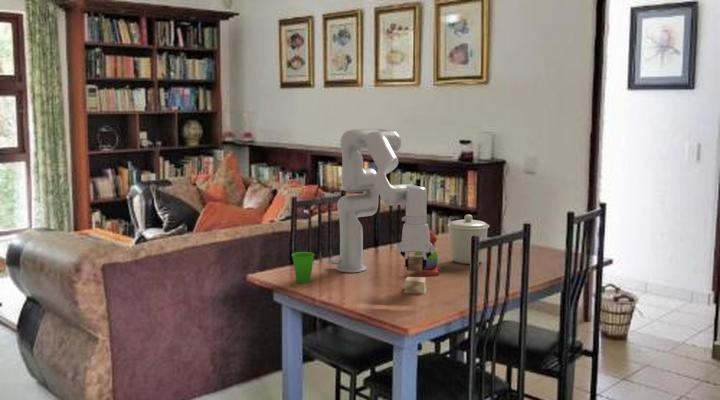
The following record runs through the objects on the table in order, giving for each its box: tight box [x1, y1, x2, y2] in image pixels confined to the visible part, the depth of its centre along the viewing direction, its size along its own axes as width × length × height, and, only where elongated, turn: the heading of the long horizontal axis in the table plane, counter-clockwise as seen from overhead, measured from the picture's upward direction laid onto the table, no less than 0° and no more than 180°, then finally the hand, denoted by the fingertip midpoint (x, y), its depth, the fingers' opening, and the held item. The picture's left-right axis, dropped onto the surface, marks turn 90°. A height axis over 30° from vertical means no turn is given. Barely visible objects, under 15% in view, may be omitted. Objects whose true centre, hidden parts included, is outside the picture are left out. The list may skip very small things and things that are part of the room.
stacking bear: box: [415, 229, 441, 277], centre depth 291 cm, size 11×10×18 cm
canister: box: [447, 214, 490, 265], centre depth 309 cm, size 18×18×21 cm
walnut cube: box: [407, 254, 423, 273], centre depth 258 cm, size 5×5×5 cm
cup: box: [291, 251, 316, 284], centre depth 277 cm, size 9×9×11 cm
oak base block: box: [404, 276, 427, 294], centre depth 260 cm, size 7×7×4 cm
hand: (415, 268), depth 259 cm, fingers closed on walnut cube, 5 cm apart
